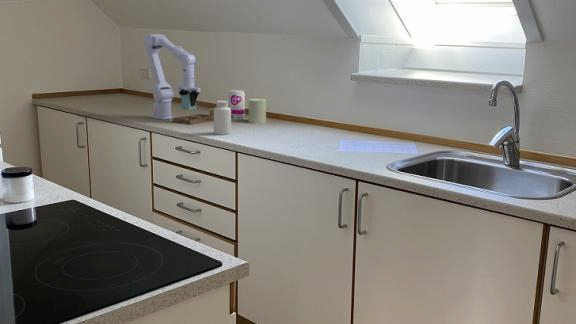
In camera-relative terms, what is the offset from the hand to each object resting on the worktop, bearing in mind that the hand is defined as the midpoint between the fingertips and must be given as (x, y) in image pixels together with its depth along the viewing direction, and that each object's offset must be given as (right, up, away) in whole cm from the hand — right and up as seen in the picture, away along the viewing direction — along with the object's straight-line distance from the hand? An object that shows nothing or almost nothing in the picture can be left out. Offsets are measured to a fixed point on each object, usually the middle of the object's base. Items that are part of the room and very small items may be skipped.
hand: (189, 105), depth 311 cm
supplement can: (+23, -6, +14) cm, 28 cm away
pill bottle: (+20, -16, -29) cm, 39 cm away
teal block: (0, -2, 0) cm, 2 cm away
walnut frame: (+3, -8, +5) cm, 10 cm away
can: (+34, -8, +5) cm, 36 cm away
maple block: (+10, -3, +15) cm, 18 cm away
